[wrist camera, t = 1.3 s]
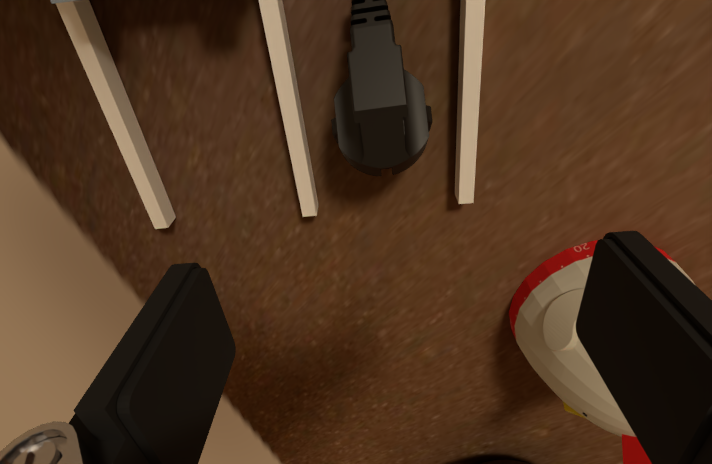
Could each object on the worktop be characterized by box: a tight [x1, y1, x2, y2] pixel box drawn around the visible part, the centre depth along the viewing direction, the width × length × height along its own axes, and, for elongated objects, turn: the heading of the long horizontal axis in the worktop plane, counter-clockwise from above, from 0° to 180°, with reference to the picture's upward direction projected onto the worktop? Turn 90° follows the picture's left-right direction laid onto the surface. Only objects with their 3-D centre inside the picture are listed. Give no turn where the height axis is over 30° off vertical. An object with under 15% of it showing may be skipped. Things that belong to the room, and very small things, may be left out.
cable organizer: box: [50, 0, 485, 229], centre depth 24 cm, size 17×23×4 cm
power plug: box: [331, 0, 432, 176], centre depth 24 cm, size 6×8×12 cm
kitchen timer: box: [509, 240, 694, 464], centre depth 29 cm, size 14×14×15 cm
